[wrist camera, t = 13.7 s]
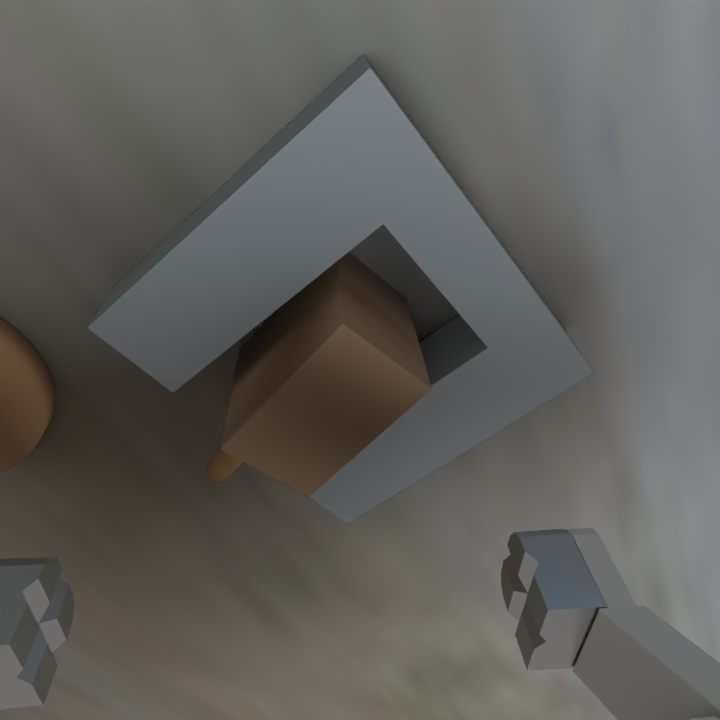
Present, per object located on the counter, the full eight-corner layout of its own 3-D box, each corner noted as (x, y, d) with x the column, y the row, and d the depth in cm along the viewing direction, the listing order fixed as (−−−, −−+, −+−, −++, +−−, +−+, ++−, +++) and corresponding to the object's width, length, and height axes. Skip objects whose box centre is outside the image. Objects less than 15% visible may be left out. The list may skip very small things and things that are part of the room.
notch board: (343, 475, 23) (346, 524, 21) (113, 287, 18) (87, 328, 16) (565, 331, 20) (595, 372, 18) (362, 54, 15) (370, 67, 13)
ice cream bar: (259, 442, 22) (246, 552, 18) (190, 403, 21) (159, 510, 17) (406, 298, 19) (431, 389, 15) (336, 241, 18) (342, 323, 14)
